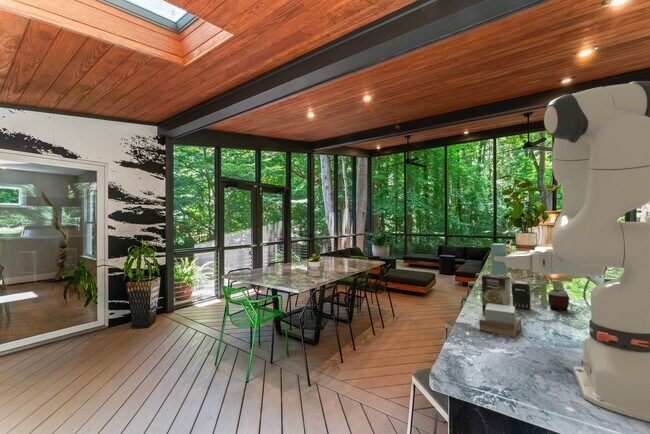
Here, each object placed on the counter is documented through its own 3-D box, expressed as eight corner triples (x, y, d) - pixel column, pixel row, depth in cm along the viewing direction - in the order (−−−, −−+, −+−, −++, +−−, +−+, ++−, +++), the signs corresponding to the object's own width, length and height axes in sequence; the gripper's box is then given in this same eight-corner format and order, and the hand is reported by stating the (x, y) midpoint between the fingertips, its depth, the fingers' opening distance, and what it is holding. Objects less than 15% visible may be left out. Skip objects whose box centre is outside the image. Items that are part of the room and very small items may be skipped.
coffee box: (481, 313, 126) (480, 275, 126) (487, 310, 130) (486, 273, 130) (506, 318, 119) (504, 278, 119) (511, 314, 123) (510, 276, 124)
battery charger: (511, 307, 133) (510, 282, 133) (513, 305, 136) (512, 280, 136) (530, 310, 128) (529, 284, 128) (531, 308, 131) (530, 282, 131)
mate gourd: (570, 312, 124) (569, 276, 124) (547, 310, 128) (546, 275, 129) (567, 308, 131) (566, 273, 131) (545, 305, 135) (544, 272, 135)
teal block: (504, 275, 106) (503, 244, 107) (491, 274, 109) (490, 244, 109) (506, 273, 109) (505, 243, 110) (494, 272, 112) (493, 243, 112)
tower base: (514, 338, 101) (514, 326, 101) (479, 330, 108) (479, 319, 108) (521, 329, 109) (520, 318, 109) (488, 322, 116) (487, 312, 116)
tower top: (514, 324, 103) (514, 313, 103) (485, 320, 107) (485, 309, 108) (515, 317, 110) (514, 306, 110) (487, 313, 115) (487, 303, 115)
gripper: (545, 248, 108) (502, 246, 118) (537, 253, 93) (488, 251, 103) (546, 265, 108) (503, 262, 118) (537, 273, 93) (489, 269, 103)
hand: (496, 257), depth 110 cm, fingers closed on teal block, 4 cm apart
